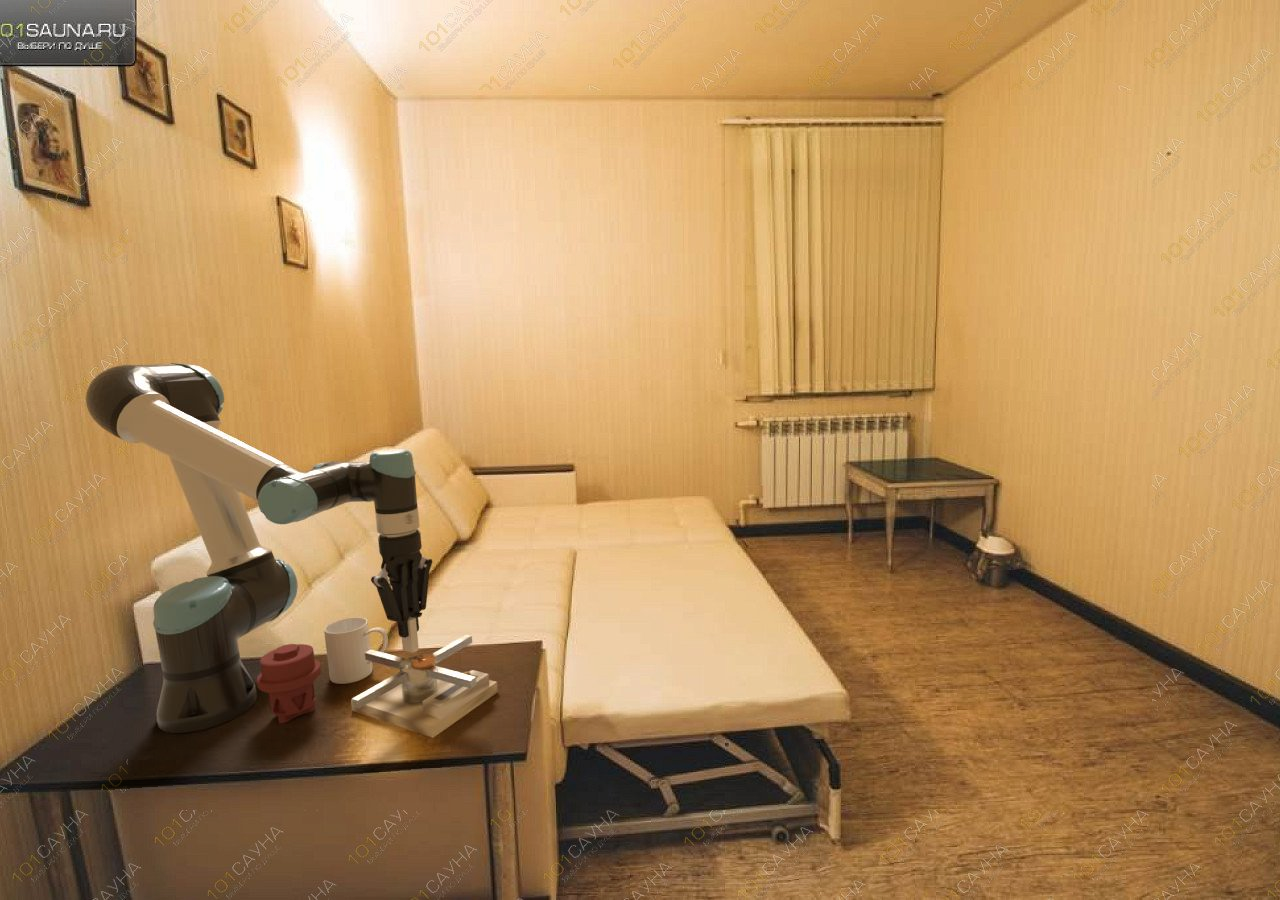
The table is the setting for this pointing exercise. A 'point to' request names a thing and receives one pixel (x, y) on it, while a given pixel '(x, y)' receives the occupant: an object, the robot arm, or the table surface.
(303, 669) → the mechanical component
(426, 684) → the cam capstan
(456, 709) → the stand
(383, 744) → the table surface
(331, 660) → the mug
